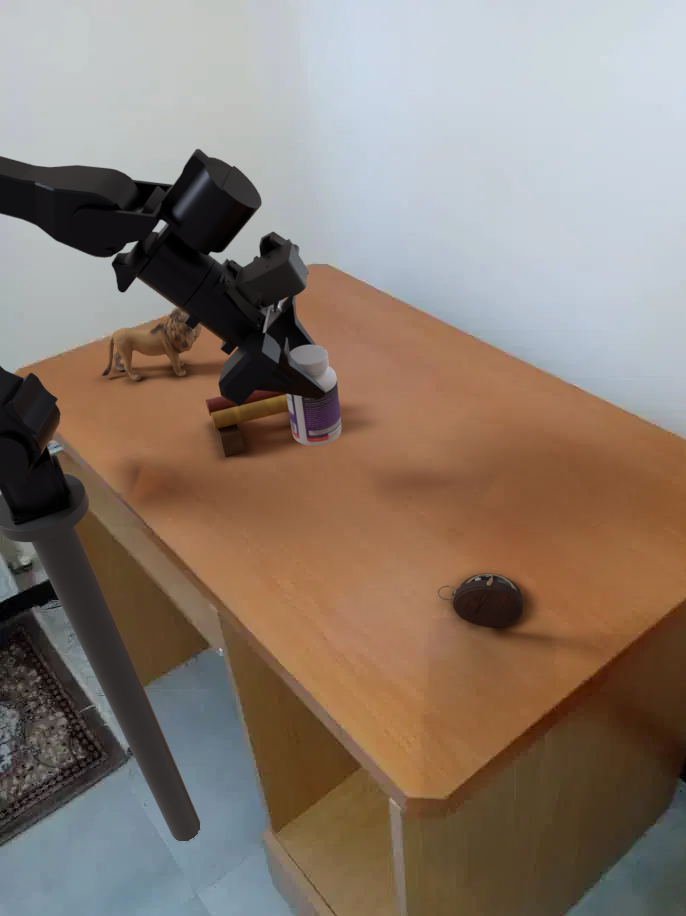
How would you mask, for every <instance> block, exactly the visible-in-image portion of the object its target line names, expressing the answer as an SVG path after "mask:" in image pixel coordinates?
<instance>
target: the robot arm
mask: <svg viewBox="0 0 686 916" xmlns="http://www.w3.org/2000/svg"><path fill="white" fill-rule="evenodd" d="M262 204H263V202H262V198H261V194H260V192H259V191H258V189H257V188H256V186H255V185H254V183H253V182H252V181H251V179H249V178H248V176H246V175H245V173H244V172H243V171H242V170H240V169H239V168H238V167H237V166H235V165H230V164H229V163H227V162H225V161H223V160H222V159H219V158H216V157H210V156H208V155H207V153H205V152H204V151H202V149H201V148H196V149H195V150H194V151H193V153H192V154H191V155H190V157H189V158H188V160H187V161H186V163H185V164H184V166H183V168H182V171H181V173H180V175H179V176H178V178H177V179H176V180H175V182H173V183H172V184H171V183H163V182H155V181H145V180H139V179H138V180H137V179H133V178H132V177H130V175H128V174H126V173H124V172H123V171H120V170H118V169H115V168H111V167H110V168H108V167H99V166H89V165H79V164H74V165H63V166H62V165H60V166H42V165H34V164H32V163H28V162H24V161H20V160H16V159H12V158H9V157H5V156H2V155H0V215H4V216H7V217H11V218H15V219H18V220H22V221H25V222H27V223H30V224H32V225H34V226H36V227H38V229H40V230H42V232H44V233H45V234H47V235H48V236H49V237H50V238H52V239H53V240H54V241H55V242H57V243H60V244H63V245H64V246H67V247H69V248H72V249H74V250H77V251H79V252H82V253H84V254H87V255H89V256H92V257H94V258H103V259H106V258H112V257H113V256H115V257H114V258H113V260H112V262H111V267H112V269H113V271H114V273H115V280H116V286H117V290H118V292H120V293H126V292H127V291H128V289H129V288H130V287H131V285H132V284H133V283H134V281H135V280H136V279H138V280H140V281H141V282H142V283H144V284H145V285H146V286H147V287H149V288H150V289H152V290H153V291H154V292H156V293H157V294H158V295H160V296H161V297H163V298H164V299H166V301H168V302H170V303H171V304H172V305H174V306H175V307H178V308H179V309H180V310H182V311H183V312H184V313H186V314H187V317H186V320H185V324H186V325H188V326H189V327H190V328H192V329H194V328H195V327H196V326H197V325H198V323H200V324H201V325H202V326H201V327H204V328H205V329H206V330H207V331H209V332H210V333H212V334H213V335H214V336H216V337H217V338H218V339H220V340H222V342H221V347H220V350H221V351H222V352H223V353H225V354H226V355H228V356H229V357H228V358H227V359H226V360H225V362H224V363H223V364H222V369H221V371H220V376H219V379H218V384H217V385H218V388H219V394H220V396H223V397H224V398H226V399H227V400H228V401H230V402H231V403H233V404H234V405H236V406H237V407H238V406H241V405H242V404H243V403H244V402H245V401H246V399H247V398H248V397H249V396H250V395H251V394H252V393H253V392H254V391H255V390H258V391H268V392H278V393H284V394H290V395H296V396H302V397H307V398H313V399H321V398H322V397H323V396H324V395H325V393H326V391H325V390H324V389H323V387H322V386H321V385H320V384H319V383H318V382H317V381H316V380H315V379H314V378H313V377H312V376H311V375H310V374H308V373H307V372H306V371H305V370H304V369H303V368H302V367H301V366H300V365H299V364H298V363H297V362H296V361H295V360H294V359H293V358H292V357H291V356H290V352H291V351H292V350H293V349H295V348H297V347H299V346H303V345H317V344H316V342H315V341H314V340H313V339H312V337H311V336H310V334H309V332H308V331H307V330H306V328H305V327H304V325H303V324H302V322H301V321H300V320H299V318H298V315H297V305H296V296H298V295H299V294H301V293H302V292H303V291H305V289H306V288H307V285H308V282H307V277H308V275H309V269H308V268H307V266H306V264H305V263H304V260H303V259H302V258H301V256H300V255H299V254H300V247H299V245H298V244H295V243H293V242H292V241H291V239H290V238H288V239H286V238H284V237H283V236H281V235H280V234H278V233H277V232H275V231H271V232H268V233H267V234H265V235H263V236H262V237H261V238H260V241H259V244H258V248H259V256H258V255H256V256H254V257H253V259H252V262H250V263H248V264H246V265H244V266H242V265H240V264H239V263H238V262H237V261H235V260H234V259H228V258H226V259H225V260H224V261H223V262H222V264H221V263H220V262H219V261H218V260H217V259H216V258H214V257H213V256H211V255H210V254H211V253H216V254H219V253H221V254H222V253H223V252H224V251H226V249H227V248H228V247H229V245H230V244H231V243H232V242H233V240H235V239H236V237H237V236H238V235H239V233H240V232H241V231H242V230H243V229H244V227H245V226H246V225H247V223H249V221H250V220H251V219H252V218H253V216H254V215H255V214H256V213H257V211H258V210H259V209H260V208H261V207H262ZM160 221H163V222H164V223H165V225H164V226H163V227H162V228H161V229H160V230H159V232H158V231H155V229H156V227H157V226H158V224H159V223H160ZM135 242H136V243H135ZM131 243H135V244H134V245H133V247H132V249H131V250H130V251H128V252H121V251H123V250H124V248H125V247H126V246H127V244H131ZM58 400H59V399H58V397H56V396H55V395H53V394H52V393H51V392H50V391H49V390H47V389H46V387H45V386H44V384H43V383H42V381H41V380H40V378H39V377H38V375H36V374H35V373H34V372H29V373H28V374H26V375H25V376H24V377H23V376H20V375H18V374H16V373H12V372H10V371H8V370H6V369H4V367H2V366H1V365H0V494H2V495H3V497H4V499H5V501H6V504H7V506H8V508H9V511H10V515H11V519H12V522H13V524H14V525H19V524H22V523H25V522H28V521H31V520H34V519H37V518H40V517H43V516H47V515H50V514H53V513H56V512H59V511H62V510H65V509H68V508H70V507H71V503H70V500H69V497H68V494H70V493H71V491H70V488H69V485H68V482H67V479H66V477H65V474H66V473H65V472H64V470H63V467H62V465H61V462H60V459H59V457H58V455H56V454H53V455H52V454H51V452H50V449H49V446H48V444H49V443H50V442H51V441H52V439H53V437H54V434H55V433H56V430H57V429H58V427H59V426H60V423H61V416H62V413H61V411H60V408H59V406H58V405H57V402H58Z"/></svg>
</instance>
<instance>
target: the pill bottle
mask: <svg viewBox="0 0 686 916" xmlns="http://www.w3.org/2000/svg"><path fill="white" fill-rule="evenodd" d="M290 356H291V357H292V358H293V359H294V360H295V361H296V362H297V363H298V364H299V365H300V366H301V367H302V368H303V369H304V370H305V371H306V372H307V373H308V374H310V375H311V376H312V377H313V378H314V379H315V380H316V381H317V382H318V383H319V384H320V385H321V386H322V387H323V389H324V390H325V391H326V393H325V395H324V396H323V397H322V398H321V399H313V398H307V397H302V396H296V395H290V394H286V396H287V402H288V409H289V411H288V415H289V422H290V427H291V428H290V429H291V434H292V437H293V439H294V440H295V441H296V442H298V443H299V444H301V445H304V446H307V447H320V446H321V447H322V446H326V445H329V444H332V443H333V442H334V441H336V440H337V439H338V438H339V437H340V435H341V433H342V419H341V408H340V407H341V406H340V400H339V399H340V398H339V389H338V379H337V374H336V372H335V370H334V369H333V368H332V367H331V366H330V365H329V363H330V361H329V353H328V351H327V349H326V348H325V347H323V346H321V345H317V344H316V345H303V346H299V347H297V348H295V349H293V350H292V351H291V352H290Z"/></svg>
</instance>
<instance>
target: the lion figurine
mask: <svg viewBox="0 0 686 916" xmlns="http://www.w3.org/2000/svg"><path fill="white" fill-rule="evenodd" d="M186 317H187V314H186V313H184V312H183V311H182V310H180V309H179V308H178V307H176V306H175V307H174V308H172V310H171V312H170V313H169V314H168V315H167V316H166V317H164V319H163V320H160V321H159V322H158V323H157V324H156V325H155V326H154V327H153V328H151V329H136V328H132V327H122V328H119V329H116V330H114V331H113V332H112V333H111V335H110V337H109V339H108V364H107V367H106V368H105V369H104V371H103V372H102V373H101V376H102V377H106V376H109V374H110V373H111V370H112V367H113V364H114V368H115V369H116V370H117V371H125V372H126V373H127V374H128V375H129V377H130V379H131V380H133V381H135V382H138V381H140V380H141V379H142V374H140V373H136V372H135V371H134V370H133V368H132V362H133V352H134V351H135V352H138V353H139V354H142V355H143V356H148V357H159V356H163V355H166V356H167V358H168V359H169V360H170V363H171V365H172V368H173V371H174V373H175V374H176V375H177V376H178V377H185V376H186V375H187V371H186V370H185V369H182V367H183V366H184V364H185V363H184V361H183V360H181V357H180V354H183V353H185V352H190V351H191V349H192V348H193V344H194V343H195V342H196V341H197V339H198V338H199V337H200V334H201V331H202V327H203V326H202V325H201V324H200V323H198V325H197V326H196V327H195V328H194V329H192V328H190V327H189V326H188V325H186V324H185V320H186ZM114 346H115V348H116V352H115V353H114ZM121 360H122V361H123V363H121ZM113 362H114V363H113Z"/></svg>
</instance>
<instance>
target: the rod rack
mask: <svg viewBox="0 0 686 916" xmlns="http://www.w3.org/2000/svg"><path fill="white" fill-rule="evenodd" d="M205 405H206V409H207V412H208V415H209V417H210V418H211V423H212V427H213V429H214V432H215V434H216V437H217V439H218V443H219V444H220V447H221V449H222V453H223V455H224V457H225V458H226V457H229V456H233V455H238V454H241V453H244V452H245V447H244V441H243V437H242V431H241V430H240V427H239V425H238V424H242V423H246V422H250V421H254V420H259V419H263V418H266V417H271V416H275V415H279V414H283V413H286V412H289V409H288V402H287V396H286V394H284V393H278V392H268V391H258V390H255V391H254V392H253V393H252V394H251V395H250V396H249V397H248V398H247V399H246V401H245V402H244V403H243V404H242V405H241V406H238V407H237V406H236V405H234V404H233V403H231V402H230V401H228V400H227V399H226V398H224V397H223V396H221V395H220V396H215V397H213V398H207V399H205Z"/></svg>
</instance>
